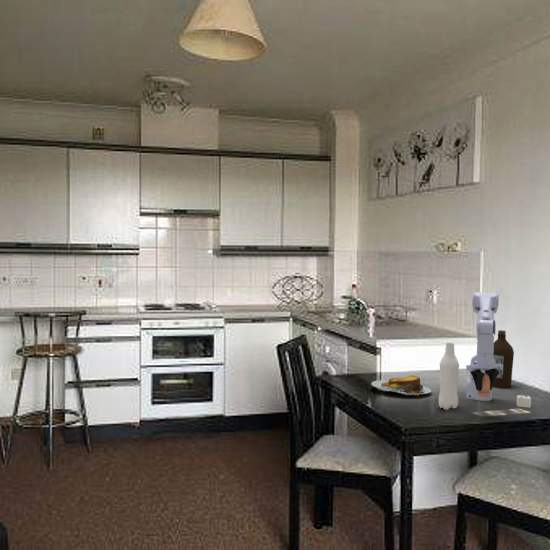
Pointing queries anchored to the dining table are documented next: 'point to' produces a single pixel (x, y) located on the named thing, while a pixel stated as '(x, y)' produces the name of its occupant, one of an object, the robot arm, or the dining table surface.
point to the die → (523, 401)
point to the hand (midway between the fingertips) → (483, 389)
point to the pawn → (485, 387)
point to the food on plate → (402, 385)
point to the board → (497, 412)
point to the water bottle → (448, 378)
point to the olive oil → (503, 360)
